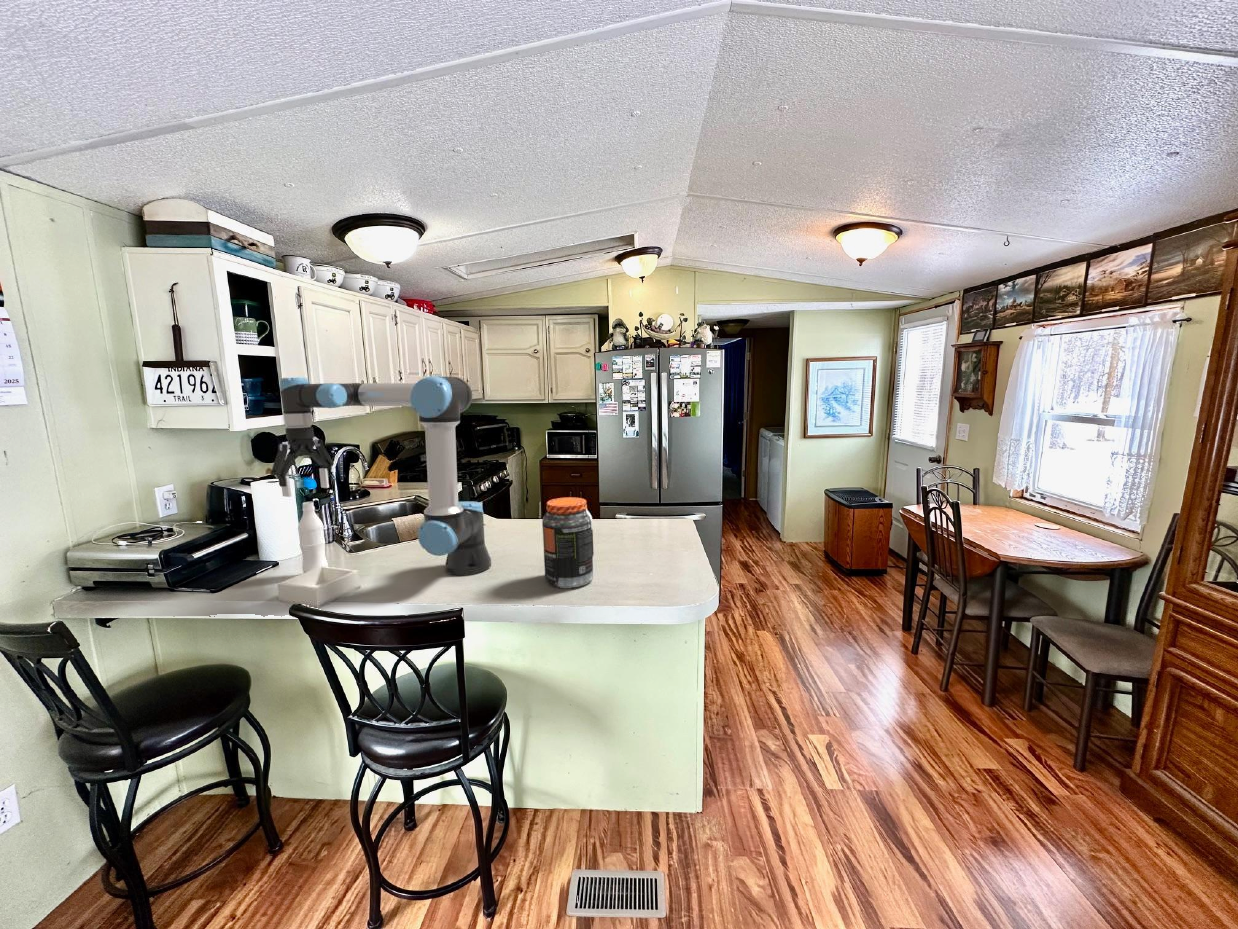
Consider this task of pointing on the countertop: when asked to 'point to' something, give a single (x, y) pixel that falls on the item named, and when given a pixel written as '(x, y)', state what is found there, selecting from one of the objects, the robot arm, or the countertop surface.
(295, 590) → the bin
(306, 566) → the water bottle
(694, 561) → the countertop surface
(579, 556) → the supplement tub
